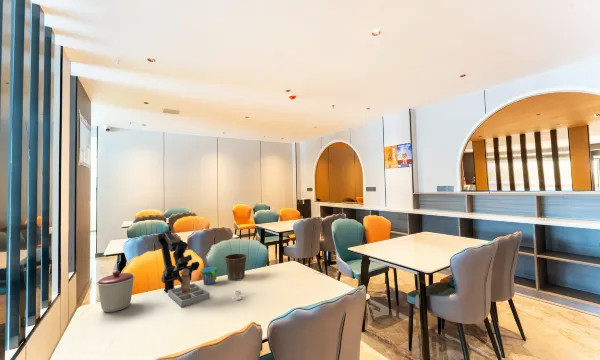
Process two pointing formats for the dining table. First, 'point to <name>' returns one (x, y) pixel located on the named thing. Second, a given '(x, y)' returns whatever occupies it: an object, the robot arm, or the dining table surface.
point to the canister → (115, 291)
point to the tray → (189, 295)
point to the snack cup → (209, 275)
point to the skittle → (185, 282)
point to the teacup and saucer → (238, 295)
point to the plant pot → (235, 266)
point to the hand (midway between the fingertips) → (186, 281)
